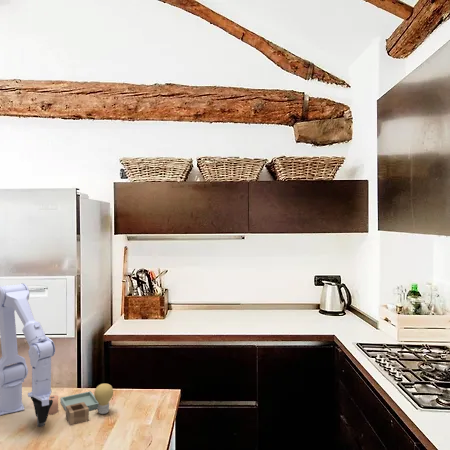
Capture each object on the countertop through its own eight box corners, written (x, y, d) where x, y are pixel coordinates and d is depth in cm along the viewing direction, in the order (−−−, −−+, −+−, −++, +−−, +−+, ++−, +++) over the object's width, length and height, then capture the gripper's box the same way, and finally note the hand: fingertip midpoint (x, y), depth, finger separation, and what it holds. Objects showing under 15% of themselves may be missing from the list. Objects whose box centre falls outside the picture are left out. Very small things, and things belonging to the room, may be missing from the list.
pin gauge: (36, 424, 136) (36, 403, 136) (44, 422, 138) (44, 401, 137) (37, 427, 134) (37, 406, 134) (45, 425, 136) (45, 404, 135)
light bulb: (114, 408, 149) (115, 380, 148) (110, 416, 142) (110, 387, 142) (96, 408, 148) (97, 380, 148) (91, 416, 142) (92, 387, 142)
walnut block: (65, 417, 141) (65, 406, 141) (83, 413, 144) (83, 401, 144) (70, 425, 136) (70, 413, 136) (88, 420, 139) (88, 408, 139)
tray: (60, 402, 152) (60, 397, 152) (90, 395, 159) (90, 391, 159) (68, 415, 143) (68, 410, 142) (100, 408, 149) (100, 403, 149)
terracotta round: (45, 410, 146) (45, 396, 146) (56, 408, 148) (56, 394, 148) (47, 415, 143) (47, 400, 143) (59, 412, 145) (59, 398, 145)
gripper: (24, 373, 139) (24, 413, 140) (31, 388, 127) (31, 432, 128) (47, 369, 143) (46, 408, 144) (56, 383, 131) (55, 426, 131)
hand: (41, 419), depth 136 cm, fingers open, 4 cm apart
